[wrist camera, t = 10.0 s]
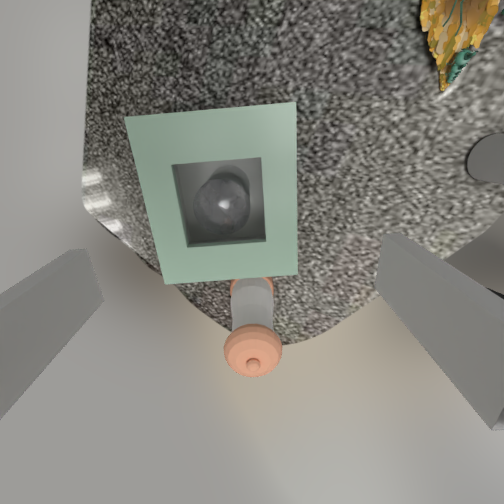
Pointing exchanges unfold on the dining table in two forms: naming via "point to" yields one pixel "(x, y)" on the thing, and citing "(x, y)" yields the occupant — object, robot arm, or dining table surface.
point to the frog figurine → (455, 32)
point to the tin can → (223, 201)
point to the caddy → (198, 172)
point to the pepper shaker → (252, 328)
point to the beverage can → (488, 159)
